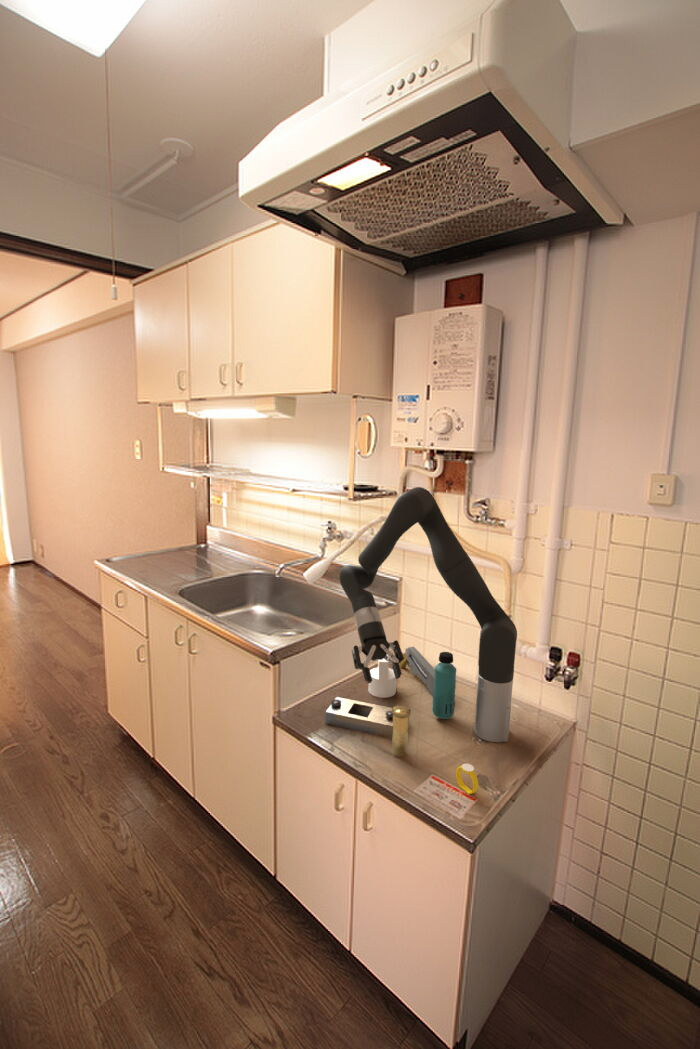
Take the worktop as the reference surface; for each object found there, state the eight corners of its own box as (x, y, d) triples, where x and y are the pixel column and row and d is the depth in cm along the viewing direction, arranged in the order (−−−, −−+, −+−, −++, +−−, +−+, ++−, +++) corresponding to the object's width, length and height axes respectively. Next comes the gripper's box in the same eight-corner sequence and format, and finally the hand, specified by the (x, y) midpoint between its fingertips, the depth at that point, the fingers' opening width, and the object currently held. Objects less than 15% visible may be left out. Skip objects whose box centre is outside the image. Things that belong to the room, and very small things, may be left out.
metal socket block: (404, 722, 145) (405, 707, 144) (396, 739, 136) (397, 723, 135) (336, 707, 151) (336, 693, 151) (325, 723, 143) (325, 708, 142)
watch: (479, 796, 116) (482, 774, 114) (470, 800, 114) (473, 778, 113) (461, 779, 121) (463, 757, 119) (452, 783, 119) (455, 761, 118)
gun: (429, 719, 162) (442, 687, 155) (395, 663, 181) (404, 632, 174) (438, 717, 163) (450, 685, 156) (402, 662, 182) (412, 631, 175)
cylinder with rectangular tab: (397, 698, 158) (398, 662, 156) (368, 697, 158) (369, 661, 156) (395, 684, 167) (396, 650, 165) (368, 683, 167) (369, 649, 165)
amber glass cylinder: (410, 749, 132) (412, 707, 130) (406, 760, 127) (408, 716, 125) (392, 745, 133) (394, 703, 131) (388, 755, 129) (389, 712, 127)
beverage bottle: (444, 726, 143) (448, 660, 140) (426, 716, 148) (430, 652, 145) (458, 719, 147) (463, 654, 144) (441, 709, 152) (444, 647, 149)
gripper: (350, 622, 141) (364, 679, 132) (395, 617, 146) (412, 671, 137) (343, 633, 147) (356, 688, 138) (387, 628, 152) (402, 680, 143)
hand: (384, 680), depth 138 cm, fingers open, 8 cm apart
